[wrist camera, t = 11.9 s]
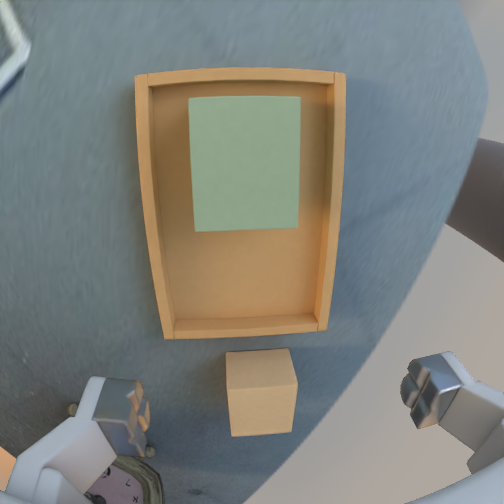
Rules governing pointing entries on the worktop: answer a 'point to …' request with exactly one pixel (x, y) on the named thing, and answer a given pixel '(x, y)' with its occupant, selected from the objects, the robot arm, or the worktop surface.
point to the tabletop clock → (126, 480)
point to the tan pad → (261, 391)
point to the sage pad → (245, 162)
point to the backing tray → (240, 241)
